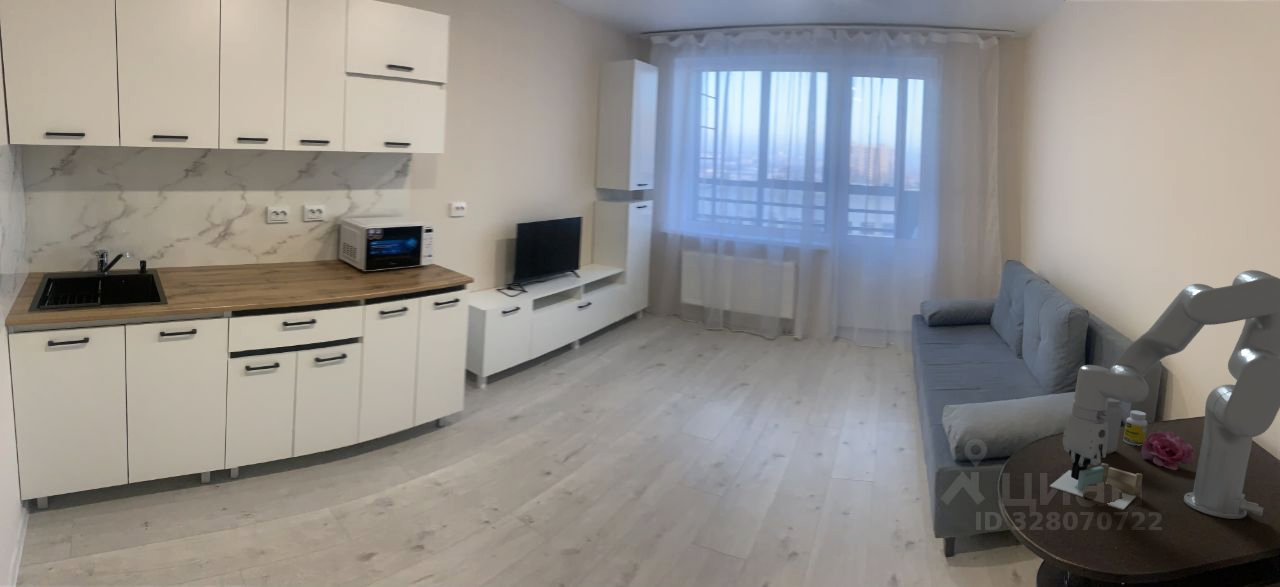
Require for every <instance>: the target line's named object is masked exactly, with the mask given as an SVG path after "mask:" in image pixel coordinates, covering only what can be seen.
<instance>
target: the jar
mask: <svg viewBox="0 0 1280 587" xmlns="http://www.w3.org/2000/svg"><path fill="white" fill-rule="evenodd" d="M1121 406H1122V402H1121V401H1119V400H1116V399H1112V398H1108V404H1107V410H1106V416H1108V419H1107V420H1105V422H1107V426H1108V443H1107V452H1106V455H1110V454H1112V453H1114V452H1116V451H1117V449H1118V445H1119V444H1118V443H1119V438H1120V437H1119V436H1120V433H1121V432H1120V430H1121V425H1122V418H1123V408H1122V407H1121Z"/></svg>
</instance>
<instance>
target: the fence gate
mask: <svg viewBox="0 0 1280 587" xmlns="http://www.w3.org/2000/svg"><path fill="white" fill-rule="evenodd" d="M1103 473H1104V468H1103V467H1101V465H1099V466H1098V465H1097V466H1095V467H1092V468H1087V470H1083V471H1082V470H1080V472H1079V479H1078V485H1077V489H1079V490H1083V489H1085V488H1086V486H1087V485H1089V484H1095V483H1102V479H1103Z"/></svg>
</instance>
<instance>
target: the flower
mask: <svg viewBox="0 0 1280 587" xmlns="http://www.w3.org/2000/svg"><path fill="white" fill-rule="evenodd" d="M1140 453H1141V458H1143V460H1147V459H1148V460H1149V461H1150V460H1151V461H1153V463H1154V464H1155V465H1157V466H1159V467H1164V468H1167V469H1169V470H1172V471H1177V470H1178V469H1179V464H1178V463H1181V464H1184V465H1189V464H1191V462H1193V460H1194V457H1195V456H1194V455H1195V451H1194V448H1193V446H1192V445H1191V444H1190V443H1186V441H1185V440H1183V439H1182V438H1181V437H1180V436H1178V435H1176V434H1175V432H1173V431H1170V430H1169V431H1166V432H1163V431H1161V430H1160V431H1157V432H1151V433H1149V434H1148V435H1147V437H1145V441H1144V442H1143V445H1142V446H1141V450H1140ZM1148 460H1147V461H1148Z"/></svg>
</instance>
